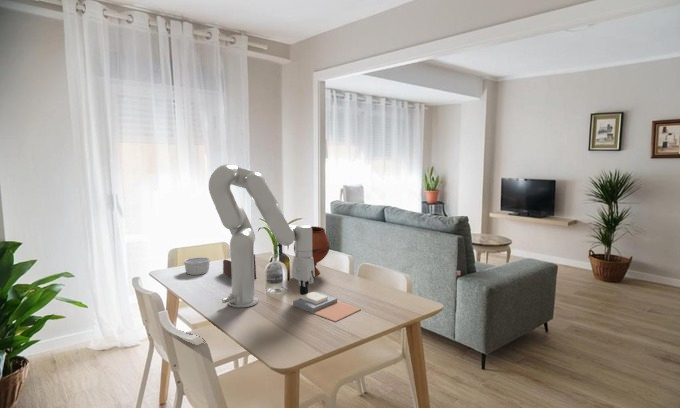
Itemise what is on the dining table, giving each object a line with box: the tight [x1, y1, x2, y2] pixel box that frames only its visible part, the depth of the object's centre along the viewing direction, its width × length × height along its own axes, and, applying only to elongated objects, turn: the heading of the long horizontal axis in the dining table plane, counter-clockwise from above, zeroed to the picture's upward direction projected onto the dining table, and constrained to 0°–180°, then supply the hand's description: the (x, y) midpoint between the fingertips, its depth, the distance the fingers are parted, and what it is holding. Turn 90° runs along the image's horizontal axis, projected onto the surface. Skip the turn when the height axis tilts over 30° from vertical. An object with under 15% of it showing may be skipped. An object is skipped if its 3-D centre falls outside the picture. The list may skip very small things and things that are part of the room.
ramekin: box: [183, 256, 211, 276], centre depth 211 cm, size 13×13×7 cm
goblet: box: [293, 226, 330, 276], centre depth 209 cm, size 19×19×25 cm
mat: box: [312, 301, 362, 323], centre depth 158 cm, size 16×12×1 cm
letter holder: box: [222, 254, 257, 280], centre depth 204 cm, size 10×20×14 cm, turn 39°
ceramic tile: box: [300, 291, 329, 304], centre depth 166 cm, size 7×9×2 cm
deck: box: [292, 291, 338, 314], centre depth 166 cm, size 15×12×2 cm
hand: (303, 294), depth 171 cm, fingers closed
